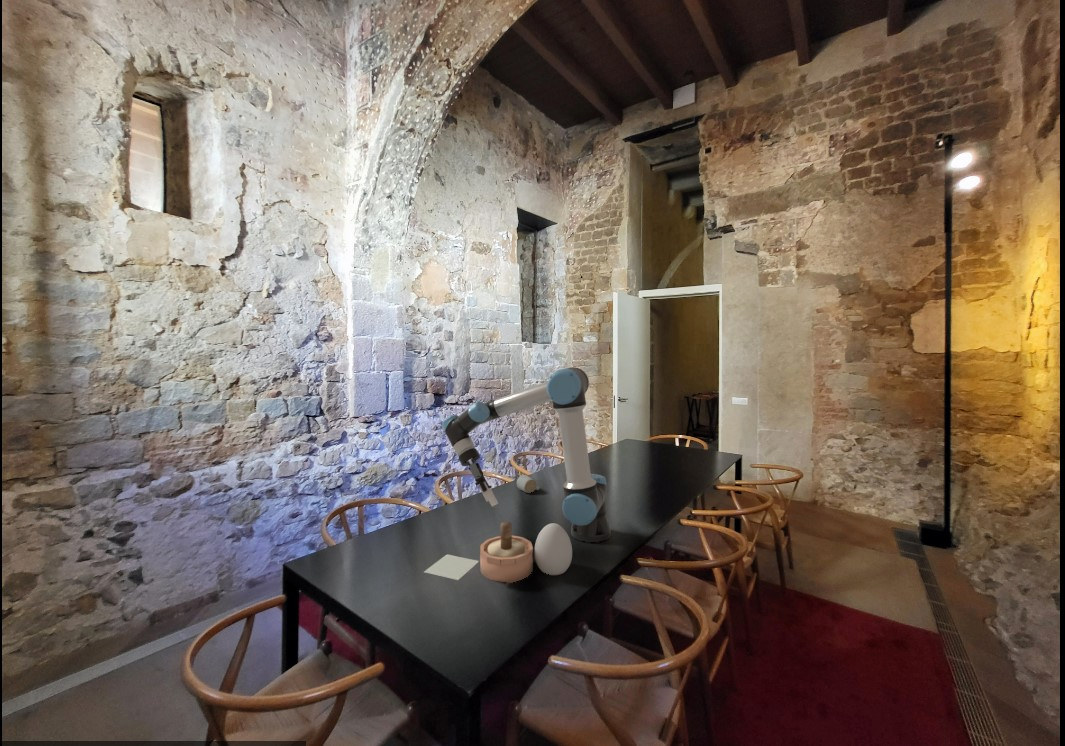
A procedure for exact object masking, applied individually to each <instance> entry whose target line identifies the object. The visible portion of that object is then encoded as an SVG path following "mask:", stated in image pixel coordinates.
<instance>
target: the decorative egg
mask: <svg viewBox="0 0 1065 746" xmlns="http://www.w3.org/2000/svg"><path fill="white" fill-rule="evenodd" d="M533 553H534V560H535V563H536V566H537V567H538V568H539V570H541V573H544V574H545V573H546V574H545V575H548V574H549V576H559V575H562V574H564V573H565V572H566V571H567V570H568V568H569V567H570V566H571V563H572V559H573V547H572V542H571V538H570V536H569V534H568V533H567V531H566V530H565V529H564V527H563V526H561V525H560V524H558V523H554V522H553V523H548V524H547V525H545V526H544V527H543V528H542V529H541V530H540V532H539V533H538V535H537V538H536V539H535V544H534V549H533Z"/></svg>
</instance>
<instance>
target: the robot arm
mask: <svg viewBox="0 0 1065 746" xmlns="http://www.w3.org/2000/svg"><path fill="white" fill-rule="evenodd" d="M589 386H590V381H589V377H588V375H587V373H586V372H585V371H584V370H583V369H581V368H578V367H576V366H574V367H566V368H560V369H558V370H556V371H555V372H553V373H552V374H551V375H550V377H548V380H547V381H545V382H542V383H539V384H536V385H534V386H531V387H527V388H524V389H522V390H519V391H515V392H513V393H511V394H508V395H505V396H502V397H498V398H496V399H493V400H490V401H487V402H486V401H485V402H482V401H480V400H479V401H478V400H477V401H475V402H474V403H473V404H471V405H470V406H468V408H467V409H466V410H464V411H463V412H462V413H461V414H460V415H458V414H452V415H450V416H448V417H446V418H444V419H443V421H442V422H441V423H442V424H441V425H442V429H443V430H444V434H445V435H446V437H447V439H448V440H449V443H450V445H451V446H452V448H453V453H454V454H455V455H456V456H457V457H458V461H459V462H460V464H461V466H462V467H468V470H469V471H470V473H471V475H472V476H473V478H474V481H475V482H474V484H475V486H478V488H479V490H480V492H481V493H482V495H483V498H484V499H485V502H486V503H487V502H489V504H490V505H491V507H492V508H494V507H495V506H496V505H497V504H499V502H498V500H497V498H496V496H495V493H494V492H493V490H492V488H493V486H492V485H489V483H488V481H487V479H486V477H485V476H484V472H483V470H482V467H481V465H480V464H479V462H477V461H478V460H479V459H480V456H481V455H480V453H479V451H478V450H477V448H476V446H475V444H474V442H473V440H472V438H471V437H470V433H471V432H472V431H473V430H475V428H477V427H478V426H480V425H483V424H485V423H488V422H492V421H493V420H498V419H500V418H503V417H505V416H509V415H512V414H515V413H517V412H518V413H519V412H520V411H523V410H527V409H530V408H533V407H536V406H539V405H542V404H545V403H548V402H551V403H552V407H553V408H552V409H553V411H555V412H556V413H557V415H558V421H559V430H560V436H561V444H562V445H561V446H562V452H563V459H564V468H565V476H566V477H565V478H566V481H565V482H564V483H563V484H562V485H563V494H564V499H563V501H562V505H561V506H562V508H561V509H562V513H563V516H564V518H566V520H568V521H569V522H570V523H571V526H570V527H571V529H570V532H571V533H570V535H571V537H572V538H574V539H575V540H578V541H579V542H583V541H585V542H584V543H590V542H596V543H600V542H599V541H603V540H606V539H608V538H609V537H610V536H612V528H611V525H610V522H609V520H608V517H607V485H608V484H607V479H606V477H605V476H604V475H601V474H596V473H591V466H590V459H589V452H588V451H589V450H588V442H587V434H586V427H585V421H584V420H585V419H584V411H583V410H584V409H585V407H586V406H587V401H586V393H587V392H588V390H589ZM610 538H611V537H610ZM610 538H609V539H610ZM609 539H608V540H609ZM606 541H607V540H606ZM603 542H604V541H603Z"/></svg>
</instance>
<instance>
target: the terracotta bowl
mask: <svg viewBox="0 0 1065 746" xmlns="http://www.w3.org/2000/svg"><path fill="white" fill-rule="evenodd" d="M512 539H513V540H518V541H520V542H522V543H523V544H524V545H525V553H523V554H520V555H518V556H515V557H504V558H501V557H496V556H491V555H489V554H488V546H489V545H490V544H491V543H492V542H494V541H497V540H501V535H499V536H498V535H497V536H495V537H491V538H487V539H486V540H485V541H483V543H482V542H481V544H480V546H479V547H480V549H479V550H480V552H479V562H480V569H479V570H480V573H481V575H482V576H483V577H485V578H487V579H488V580H491V581H495V582H498V583H499V582H502V583H505V582H506V584H514V583H513V582H515V583H517V582H516V581H519V580H522V579H524V578H526V577H527V578H529V577H530V576H531V575H530V574H532V573H533V571H534V569H533V568H534V565H533V563H534V561H533V559H534V558H533V553H534V547H533V544H532V542H531V540H528V539H527V538H525V537H522V536H518V535H513V534H512ZM531 572H532V573H531ZM529 575H530V576H529ZM528 576H529V577H528ZM527 578H526V579H527ZM524 580H525V579H524ZM522 581H523V580H522ZM519 582H520V581H519Z"/></svg>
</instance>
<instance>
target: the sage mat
mask: <svg viewBox="0 0 1065 746" xmlns="http://www.w3.org/2000/svg"><path fill="white" fill-rule="evenodd" d="M479 562H480V560H477V559H471V558H466V557H461V556H456V555H452V554H446V555H444V556H443V557H441V558H440V559H439V560H437V561H436V562H435V563H433V564H432V565H431V566H429V567H428V568H426V569H425V570H424V571H423V573H425V574H430V575H434V576H439V577H443V578H448V579H451V580H455V581H459V580H461V578H463V576H465V575H466V574H467V573H468V572H469V571H470V570H472V568H474V567H475V566H476V565H477V564H478V563H479Z"/></svg>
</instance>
